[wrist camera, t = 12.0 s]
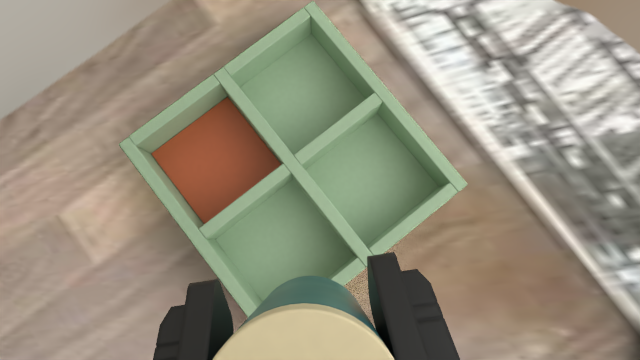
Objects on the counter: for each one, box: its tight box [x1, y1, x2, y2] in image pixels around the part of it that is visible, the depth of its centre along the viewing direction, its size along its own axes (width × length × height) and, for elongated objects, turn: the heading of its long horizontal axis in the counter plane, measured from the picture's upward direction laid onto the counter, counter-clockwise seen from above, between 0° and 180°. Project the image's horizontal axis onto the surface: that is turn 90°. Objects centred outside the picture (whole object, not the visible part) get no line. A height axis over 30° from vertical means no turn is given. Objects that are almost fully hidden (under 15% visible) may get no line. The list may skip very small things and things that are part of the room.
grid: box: [119, 1, 467, 317], centre depth 29 cm, size 15×15×3 cm
